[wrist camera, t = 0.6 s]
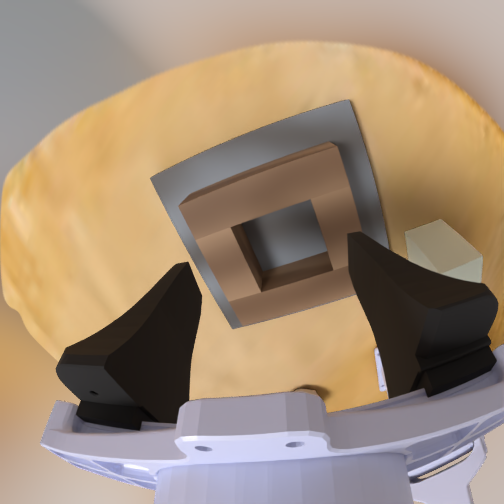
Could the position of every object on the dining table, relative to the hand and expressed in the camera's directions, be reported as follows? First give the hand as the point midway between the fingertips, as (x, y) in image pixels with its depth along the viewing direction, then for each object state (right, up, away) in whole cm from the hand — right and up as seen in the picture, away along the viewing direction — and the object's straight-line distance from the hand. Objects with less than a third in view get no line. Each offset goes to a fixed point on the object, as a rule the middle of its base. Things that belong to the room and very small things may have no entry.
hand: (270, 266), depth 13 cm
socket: (+2, +3, +10) cm, 11 cm away
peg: (+15, +1, +10) cm, 18 cm away
